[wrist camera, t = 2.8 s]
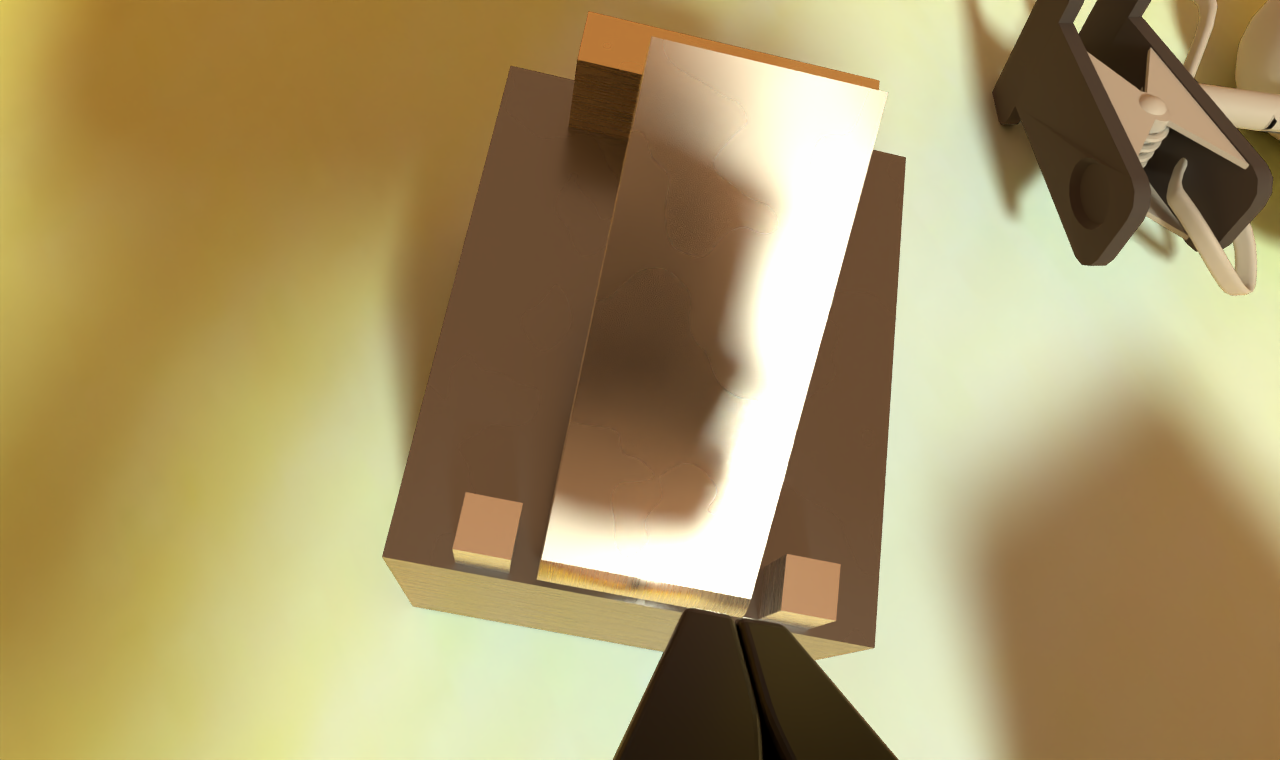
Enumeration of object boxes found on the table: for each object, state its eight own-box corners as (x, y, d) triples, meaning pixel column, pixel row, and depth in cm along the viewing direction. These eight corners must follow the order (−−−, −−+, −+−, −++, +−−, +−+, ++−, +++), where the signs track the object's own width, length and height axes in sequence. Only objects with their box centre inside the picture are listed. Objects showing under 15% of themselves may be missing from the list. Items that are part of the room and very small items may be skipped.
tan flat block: (733, 596, 14) (742, 630, 13) (539, 561, 14) (534, 592, 13) (866, 96, 13) (888, 92, 12) (648, 45, 12) (651, 35, 11)
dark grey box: (766, 669, 20) (925, 638, 13) (412, 606, 19) (367, 533, 12) (805, 294, 23) (950, 97, 16) (505, 229, 22) (513, -7, 15)
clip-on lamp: (951, -90, 33) (1011, 306, 23) (1029, -299, 28) (1150, 96, 18) (1280, -44, 33) (1483, 371, 23) (1418, -242, 28) (1762, 181, 18)
